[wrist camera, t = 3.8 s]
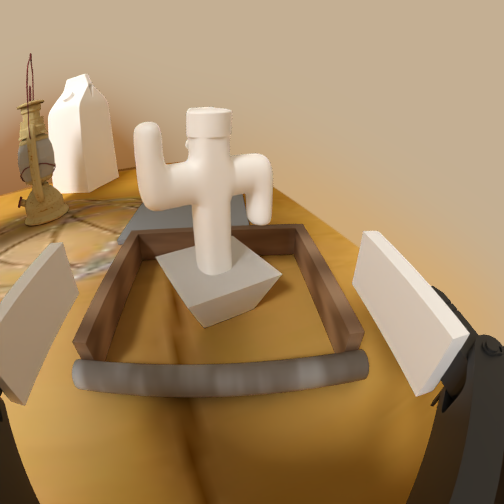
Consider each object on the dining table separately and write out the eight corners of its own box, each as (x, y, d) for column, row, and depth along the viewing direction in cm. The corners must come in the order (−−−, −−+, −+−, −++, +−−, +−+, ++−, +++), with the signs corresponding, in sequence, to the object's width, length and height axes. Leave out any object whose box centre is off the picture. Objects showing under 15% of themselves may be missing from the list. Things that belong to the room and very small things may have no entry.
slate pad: (251, 238, 34) (251, 234, 33) (118, 244, 32) (117, 239, 32) (241, 195, 48) (241, 192, 47) (147, 200, 46) (146, 196, 46)
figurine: (290, 307, 23) (305, 108, 16) (179, 353, 19) (145, 112, 11) (243, 267, 28) (243, 105, 21) (150, 296, 24) (123, 115, 17)
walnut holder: (362, 385, 16) (376, 355, 15) (81, 394, 14) (62, 365, 13) (300, 249, 32) (302, 224, 30) (136, 255, 30) (131, 230, 29)
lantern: (25, 214, 43) (9, 67, 29) (67, 200, 48) (55, 55, 34) (19, 235, 35) (-2, 54, 20) (70, 218, 40) (55, 38, 25)
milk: (119, 176, 62) (112, 71, 49) (89, 192, 52) (78, 70, 40) (84, 178, 64) (76, 81, 51) (54, 193, 54) (43, 84, 41)
